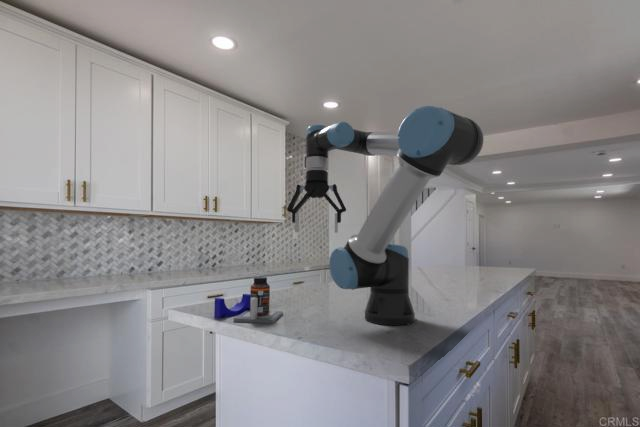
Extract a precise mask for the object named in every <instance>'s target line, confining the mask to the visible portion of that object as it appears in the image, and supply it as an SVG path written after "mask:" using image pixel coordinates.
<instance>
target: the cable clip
mask: <svg viewBox="0 0 640 427" xmlns="http://www.w3.org/2000/svg"><path fill="white" fill-rule="evenodd" d="M247 310H250V293H243V294H242V297H241V300H240V302H236V303H235V304H234V306H233V307H230V308H228V306H226V303H225V298H223V297H214V316H213V317H214V318H217V319H224V318H230V317H234V316H235V317H236V316H238V315H240V314H242V313H243V312H245V311H247Z"/></svg>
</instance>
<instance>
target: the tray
mask: <svg viewBox="0 0 640 427" xmlns="http://www.w3.org/2000/svg"><path fill="white" fill-rule="evenodd" d="M257 305H258V298H251V311H250V310H247V311H245V312H243V313H242V314H240V315H236V316H235V317H234V318H233V323H254V324H255V323H256V324H274V323H275V322H277V321H278V319H280V318H281V317H282V316H284V311H283V310H269V314H267V315H264V316H257Z"/></svg>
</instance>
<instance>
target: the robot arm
mask: <svg viewBox="0 0 640 427" xmlns="http://www.w3.org/2000/svg"><path fill="white" fill-rule="evenodd" d="M305 140H306V141H305V142H306V143H305V145H306V147H305V148H306V149H305V150H306V152H305V153H306V155H305V156H306V158H305V159H306V160H305V170H306V172H305V184H304V185H301V184H297V185H296V189H295V190H296V191H295V193H294V194H293V196H292V198H291V200H290V203H289V204H288V206H287V208H286V211H288V212H289V213H291V214H292V215H291V221H292V223H293V224H294V233H299V232H300V231H299V230H300V225H299V224H300V222H299V221H300V213H298V212H299V211H300V210H301V208H302V207H303V206H304V204H306V203H307V201H308V200H309V199H310V198H312V199H315V198H316V199H317V198H318V199H322V198H323V197H324V199H325V200H326V201H327V202H328V203H329V205H330V206H331V207H332V208H333V209H334V211H336V213H334V233H336V234H338V233H339V232H338V229H339V226H338V225H339V224H341V222H342V213H345V212H347V208H346V206H345V204H344V202H343V200H342V198H341V195H340V193H339V192H338V186H337V185H336V183H333V184H331V185H329V183H328V182H329V180H328V178H329V174H328V173H329V172H328V169H329V152H331V151H334V150H340V151H345V152H350V153H355V154H358V155H359V154H360V155H364V156H368V157H369V156H370V157H371V156H372V157H373V156H376V155H377V156H393V157H394V156H395V157H397V160H398V162H397V164H396V166H395V168H394V170H393V172H392V173H391V176H390V177H389V179H388V180H387V182H386V184H385V186H384V188H383V189H382V191H381V192H380V195H379V197H378V198H377V200H376V202H375V203H374V206H373V207H372V209H371V210H370V212H369V214H368V216H367V217H366V219H365V221H364V223H363V224H362V226H361V228H360V230H359V231H358V234H353V235H351V236H350V237H349V239H348V240H347V242H346V244H345V245H344V247H337V248H335V249H334V250H333V251H331V254H330V256H329V265H328V266H329V272H330V276H331V278H332V280H333V282H334V283H335V285H336V286H337V287H339V288H340V289H341V290H342V289H343V290H352V291H353V290H357V289H367V288H370V294H369V297H368V301H367V303H366V306H365V309H364V319H365V320H366V321H367V322H371V323H374V324H379V325H386V326H387V325H388V326H403V325H410V324H413V323H415V322H416V316H415V315H416V314H415V310H414V307H413V303H412V300H411V298H410V294H409V291H410V290H409V287H410V286H409V283H410V282H409V279H410V278H409V276H410V275H409V266H410V265H409V261H410V258H409V251H408V249H407V247H406V246H404V245H401V244H395V243H394V244H393V243H391V242H392V240H393V239H394V237H395V235H396V234H397V232H398V231H399V229H400V228H401V226H402V224H403V223H404V221H405V220H406V218H407V217H408V215H409V213H410V211H412V208H413V206H414V205H415V204H416V202H417V200H418V199H419V197H420V196H421V195H422V193H423V191H424V190H425V188H426V186H427V185H428V183H429V182H430V180H431V179H435V178H439V177H440V176H441V175H442V174H443V172H444V170H445V169H446V167H447V166H448V165H451V166H462V165H465V164H468V163H470V162H471V161H473V160H474V159H475V158H477V157H478V156H479V154H480V153H481V151H482V148H483V146H484V133H483V130H482V129H481V127H480V125H479V124H478V123H477V122H476V121H475V120H473V119H471V118H468V117H467V116H463V115H459V114H457V113H455V112H452V111H450V110H447V109H445V108H443V107H438V106H433V105H424V106H421V107H418V108H416V109H414V110H413V111H411V112H409V113H408V115H406V117H405V118H403V120H402V122H401V123H400V125H399V128H398V130H396V131H395V130H393V131H392V130H391V131H387V130H386V131H369V132H368V131H364V130H358V129H355V128H353V126H352V125H350V124H349V123H348V122H347V121H340V122H336V123H333V124H331V125H329V126H326V125H323V124H314V125H313V124H312V125H310V126H308V127H307V129H306V137H305ZM329 190H330V191H331V192H333V194H334V196H335V197H336V199H337V202H338V204H339V207H340V208H339V207H338V206H337V204H336V203H335V202H334V201H333V200H332V199H331V197H330V196H329V194H327V193H328V191H329ZM303 191H305V192H306V193H305V194H304V195H303V197H302V198H301V199H300V201H299V202H298V203H297V201H298V199H299V197H300V195H301V193H302V192H303ZM296 203H297V204H296ZM295 205H296V206H295Z"/></svg>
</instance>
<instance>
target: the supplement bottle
mask: <svg viewBox="0 0 640 427" xmlns="http://www.w3.org/2000/svg"><path fill="white" fill-rule="evenodd" d="M270 288H271V286H270V284H268V277H266V276H254V277H253V283H252V284H251V285H250V293H249V294H250V311H251V298H258V305H257V316H264V315H267V314H269V311H270V300H271V299H270V291H271V290H270Z"/></svg>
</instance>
